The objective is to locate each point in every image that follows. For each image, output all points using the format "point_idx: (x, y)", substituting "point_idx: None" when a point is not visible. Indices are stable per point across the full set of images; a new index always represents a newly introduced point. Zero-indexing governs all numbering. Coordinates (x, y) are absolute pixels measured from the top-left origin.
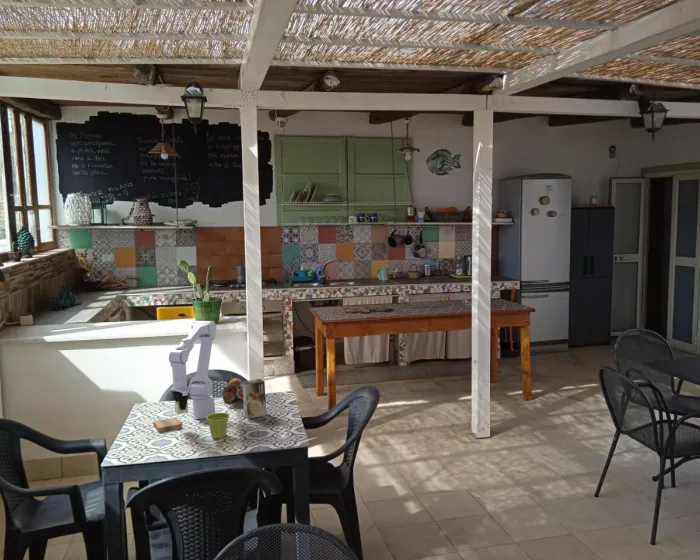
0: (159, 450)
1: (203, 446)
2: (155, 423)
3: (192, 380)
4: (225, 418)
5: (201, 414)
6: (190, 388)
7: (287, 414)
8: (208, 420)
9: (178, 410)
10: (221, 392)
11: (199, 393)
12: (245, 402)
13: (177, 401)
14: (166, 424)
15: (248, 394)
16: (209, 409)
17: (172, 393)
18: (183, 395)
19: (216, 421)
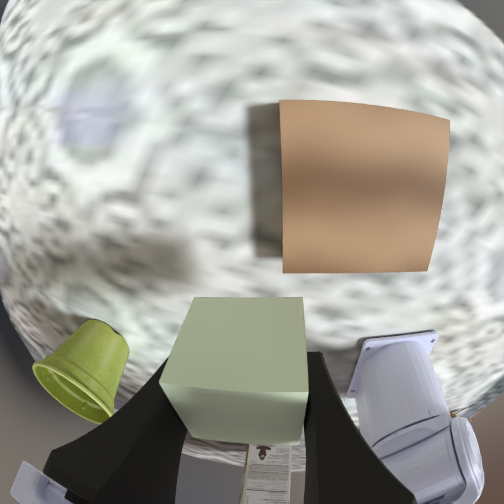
0: (25, 109)
1: (32, 268)
2: (404, 114)
3: (465, 499)
4: (53, 396)
5: (366, 373)
6: (454, 465)
7: (231, 460)
8: (46, 362)
9: (185, 331)
10: (482, 409)
11: (392, 467)
12: (258, 474)
13: (301, 412)
14: (332, 176)
15: (240, 499)
16: (363, 407)
17: (384, 494)
18: (23, 464)
19: (39, 370)
